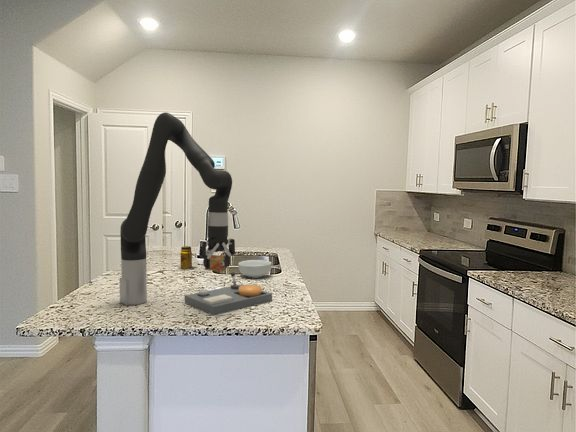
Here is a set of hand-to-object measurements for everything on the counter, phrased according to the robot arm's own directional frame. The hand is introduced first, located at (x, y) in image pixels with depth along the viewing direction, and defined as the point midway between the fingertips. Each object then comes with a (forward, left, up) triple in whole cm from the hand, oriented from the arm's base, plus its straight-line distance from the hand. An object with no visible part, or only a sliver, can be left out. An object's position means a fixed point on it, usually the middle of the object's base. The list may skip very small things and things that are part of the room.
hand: (217, 267), depth 155 cm
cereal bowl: (+45, +33, -16) cm, 58 cm away
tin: (+38, +58, -16) cm, 72 cm away
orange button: (+16, 0, -13) cm, 20 cm away
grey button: (0, +10, -13) cm, 16 cm away
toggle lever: (+16, +10, -11) cm, 22 cm away
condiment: (+29, +72, -16) cm, 80 cm away
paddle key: (0, 0, -14) cm, 14 cm away
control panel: (+8, +4, -16) cm, 18 cm away
